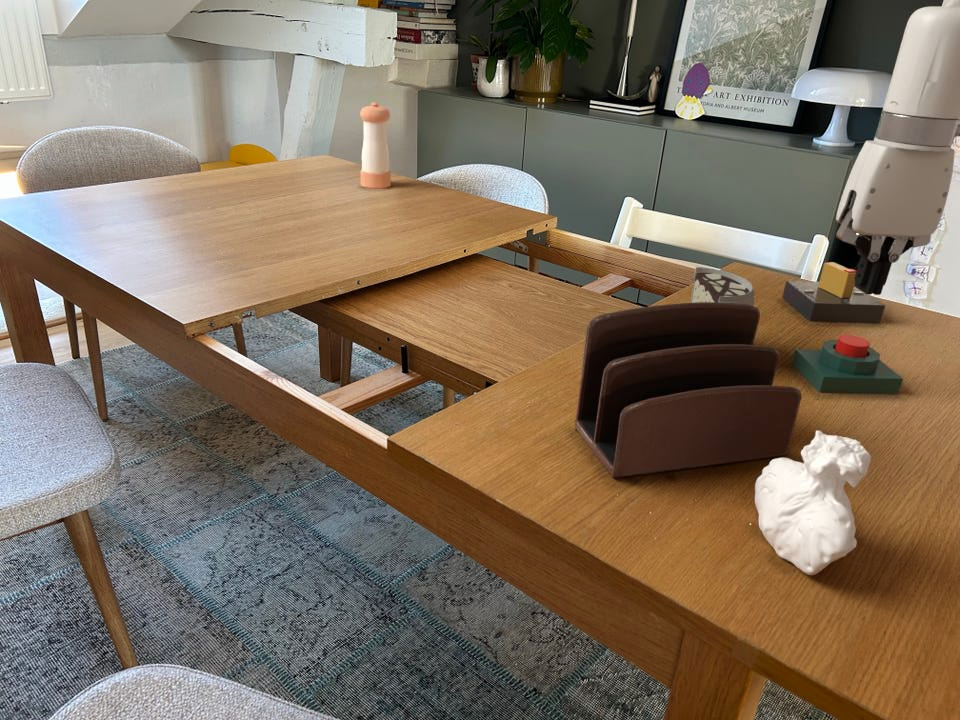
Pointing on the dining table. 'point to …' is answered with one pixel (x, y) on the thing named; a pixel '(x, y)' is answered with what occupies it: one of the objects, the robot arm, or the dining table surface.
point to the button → (852, 346)
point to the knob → (837, 280)
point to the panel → (832, 304)
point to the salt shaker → (375, 147)
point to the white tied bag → (811, 502)
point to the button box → (846, 371)
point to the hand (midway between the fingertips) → (866, 290)
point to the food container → (721, 287)
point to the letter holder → (681, 389)
